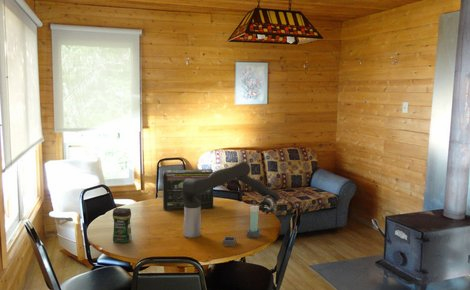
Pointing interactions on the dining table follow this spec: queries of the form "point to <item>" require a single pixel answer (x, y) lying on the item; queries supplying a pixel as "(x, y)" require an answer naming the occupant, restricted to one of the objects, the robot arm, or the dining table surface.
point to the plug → (254, 217)
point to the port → (253, 234)
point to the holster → (229, 241)
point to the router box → (174, 188)
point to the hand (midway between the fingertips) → (259, 212)
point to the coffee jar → (122, 225)
